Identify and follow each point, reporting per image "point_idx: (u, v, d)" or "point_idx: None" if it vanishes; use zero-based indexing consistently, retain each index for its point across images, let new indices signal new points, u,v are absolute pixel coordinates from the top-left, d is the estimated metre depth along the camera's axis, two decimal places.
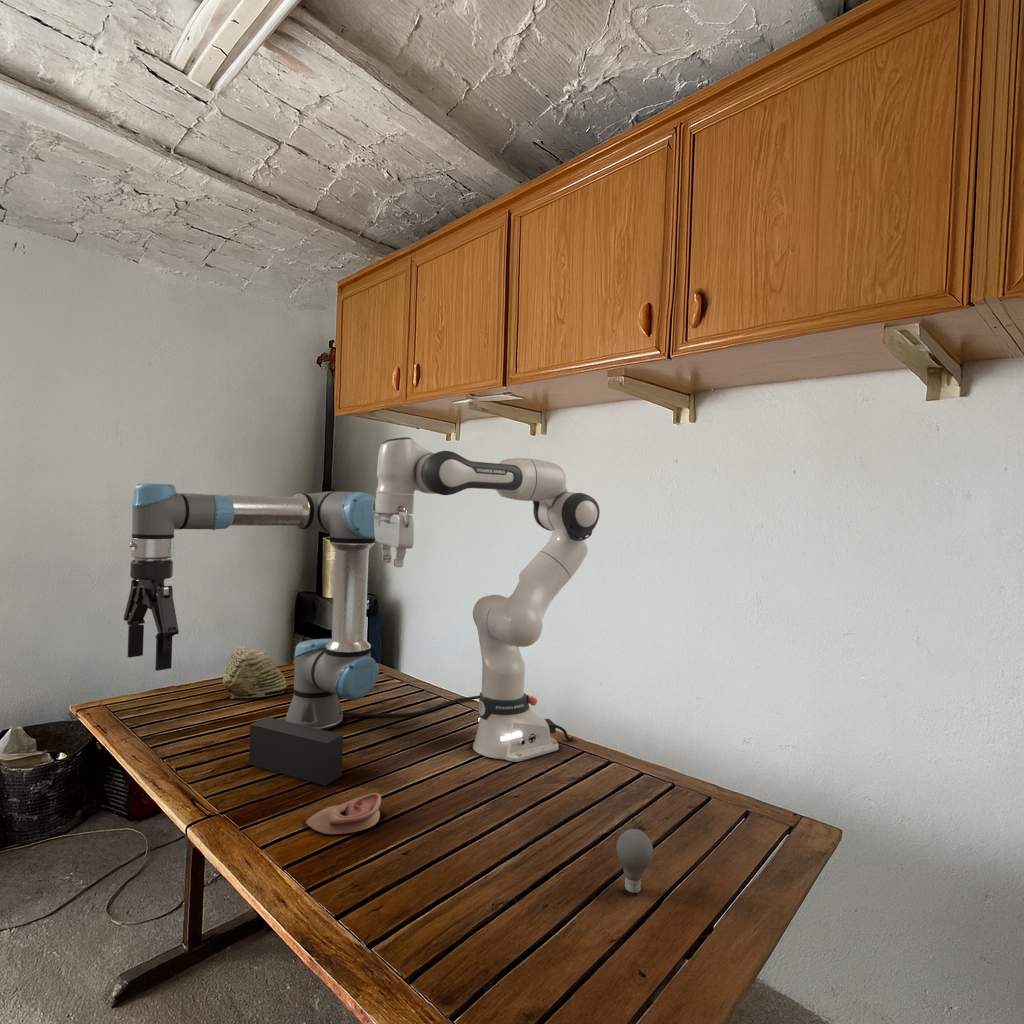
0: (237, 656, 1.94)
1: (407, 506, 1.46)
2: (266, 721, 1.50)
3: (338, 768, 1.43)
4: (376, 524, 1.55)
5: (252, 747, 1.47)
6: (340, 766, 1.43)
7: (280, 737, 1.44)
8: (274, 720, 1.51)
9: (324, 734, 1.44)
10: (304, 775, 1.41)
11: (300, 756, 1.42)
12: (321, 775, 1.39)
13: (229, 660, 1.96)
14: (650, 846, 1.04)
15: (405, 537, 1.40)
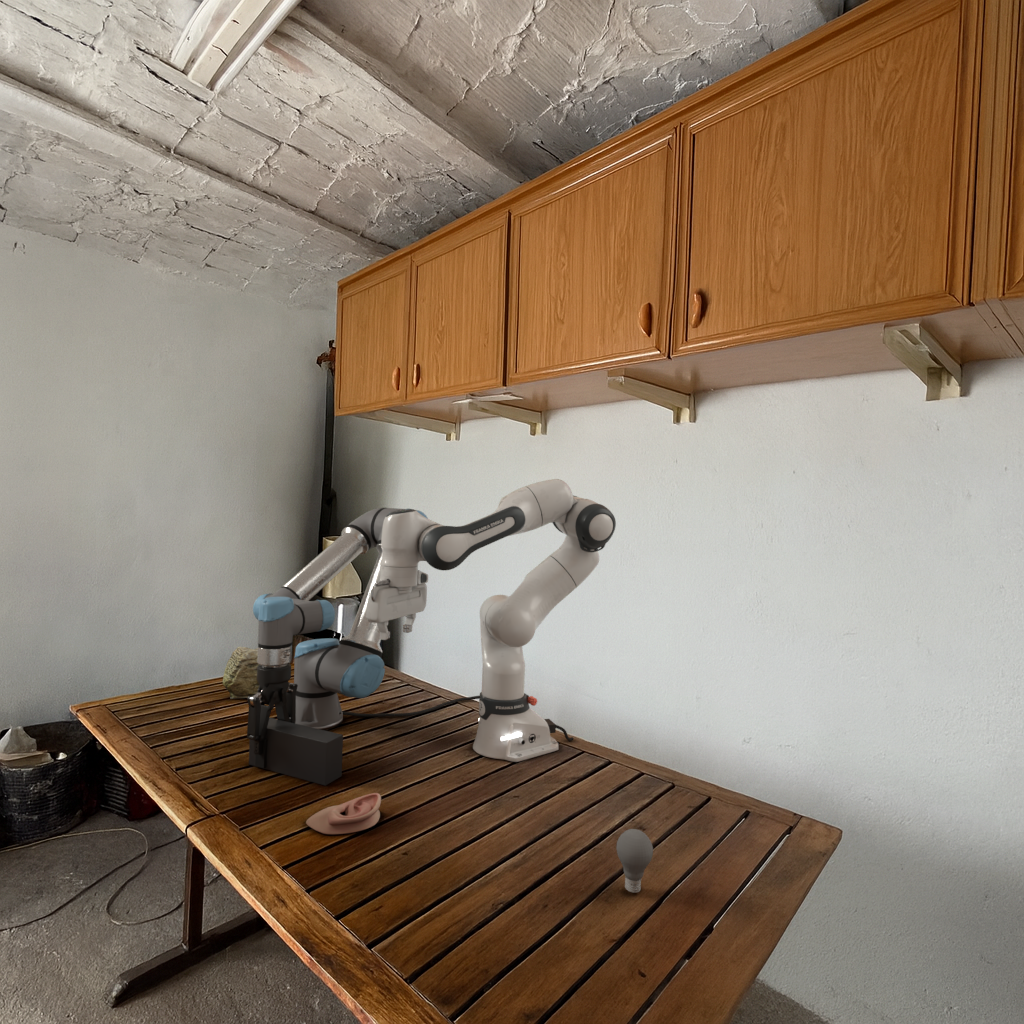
0: (237, 656, 1.94)
1: (395, 579, 1.45)
2: None
3: (338, 768, 1.43)
4: None
5: (252, 747, 1.47)
6: (340, 766, 1.43)
7: (280, 738, 1.44)
8: (274, 720, 1.51)
9: (324, 734, 1.44)
10: (304, 775, 1.41)
11: (300, 757, 1.42)
12: (321, 775, 1.39)
13: (229, 660, 1.96)
14: (650, 846, 1.04)
15: (371, 611, 1.41)
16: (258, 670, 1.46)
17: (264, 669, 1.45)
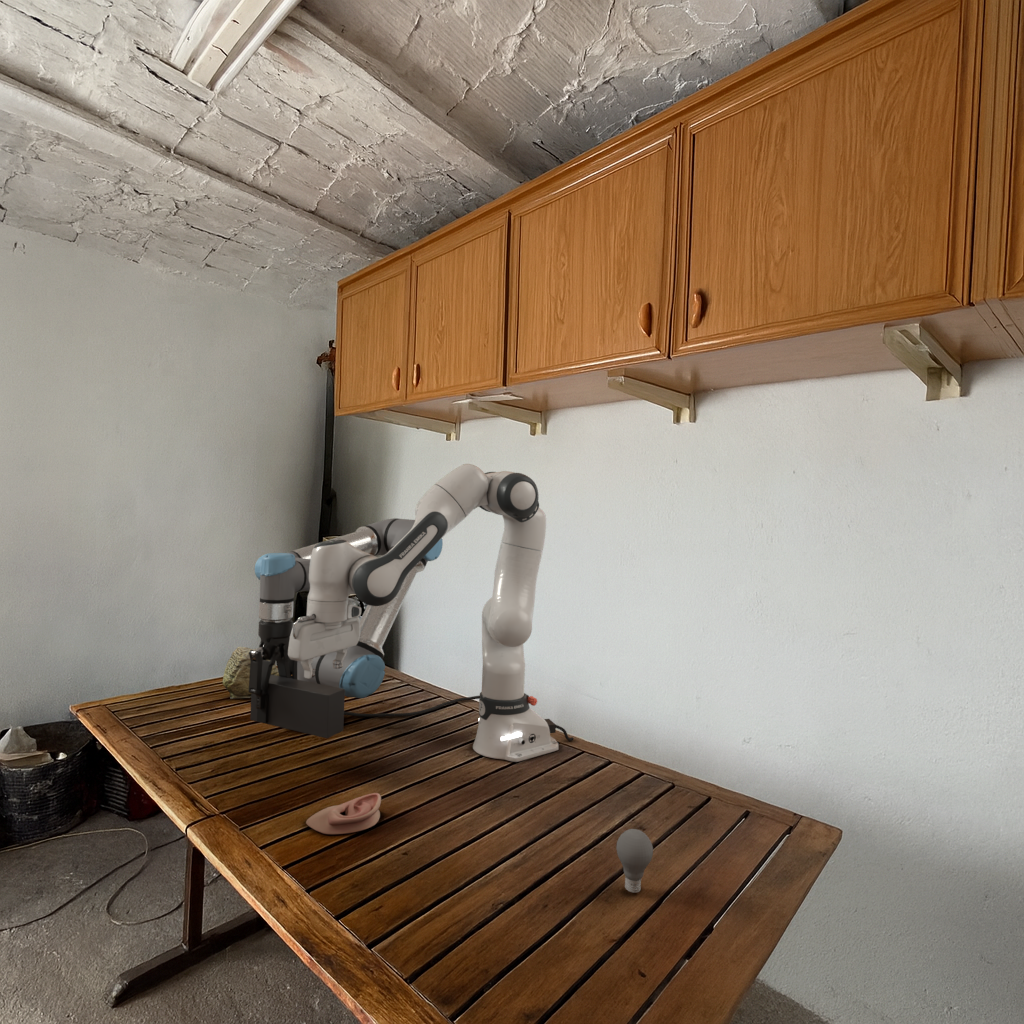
0: (237, 656, 1.94)
1: (321, 614, 1.38)
2: None
3: (340, 722, 1.43)
4: None
5: (254, 702, 1.47)
6: (342, 720, 1.43)
7: (282, 692, 1.44)
8: (276, 676, 1.50)
9: (325, 688, 1.43)
10: (305, 729, 1.41)
11: (302, 710, 1.41)
12: (323, 728, 1.39)
13: (229, 660, 1.96)
14: (650, 846, 1.04)
15: (293, 649, 1.33)
16: (260, 625, 1.46)
17: (266, 624, 1.45)
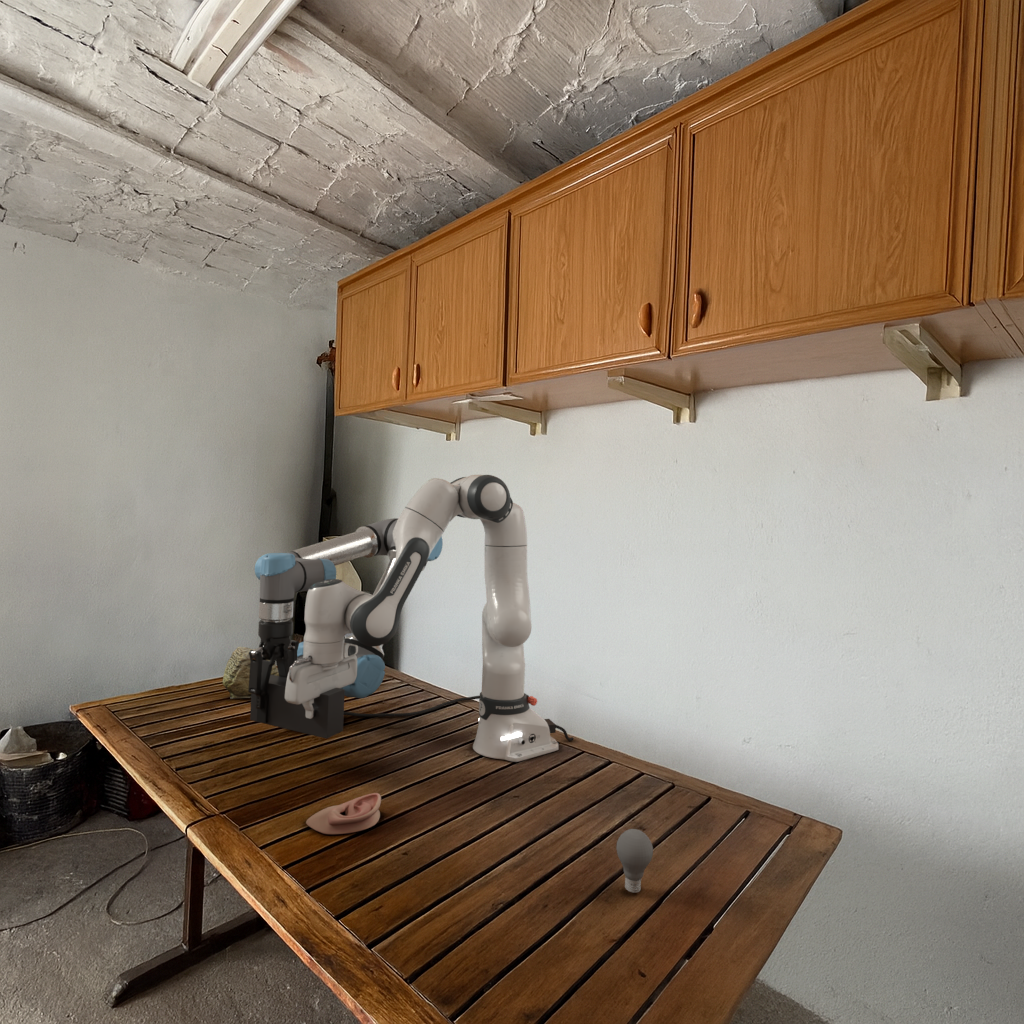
0: (237, 656, 1.94)
1: (318, 656, 1.38)
2: None
3: (340, 722, 1.43)
4: None
5: (254, 703, 1.47)
6: (341, 720, 1.43)
7: (282, 692, 1.44)
8: (276, 676, 1.50)
9: None
10: (305, 729, 1.41)
11: (302, 710, 1.41)
12: (322, 728, 1.39)
13: (229, 660, 1.96)
14: (650, 846, 1.04)
15: (289, 692, 1.34)
16: (260, 625, 1.46)
17: (266, 624, 1.45)
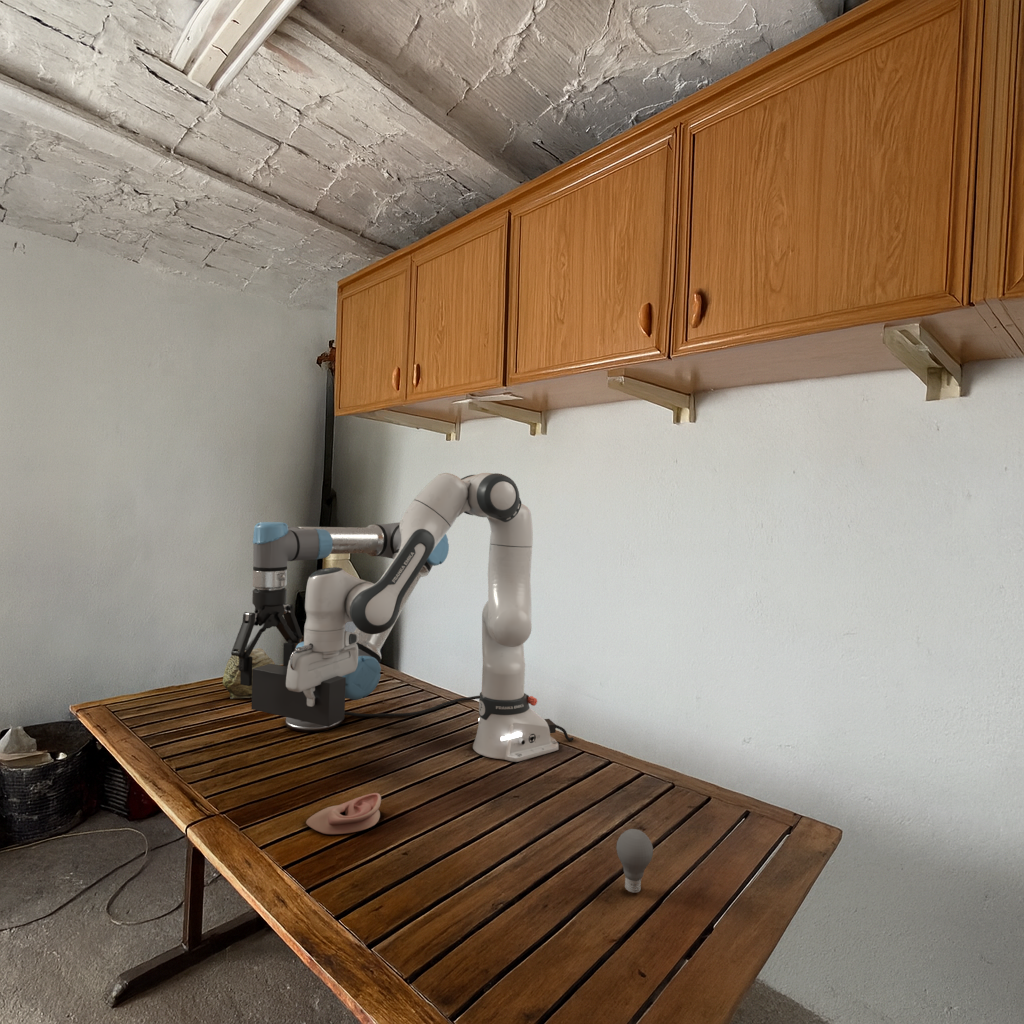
0: (237, 656, 1.94)
1: (318, 644, 1.38)
2: (269, 666, 1.50)
3: (341, 711, 1.43)
4: None
5: (255, 692, 1.47)
6: (343, 708, 1.43)
7: (283, 681, 1.44)
8: (276, 666, 1.50)
9: None
10: (306, 717, 1.41)
11: (303, 699, 1.41)
12: (323, 716, 1.39)
13: (229, 660, 1.96)
14: (650, 846, 1.04)
15: (291, 680, 1.34)
16: (254, 593, 1.46)
17: (260, 591, 1.46)
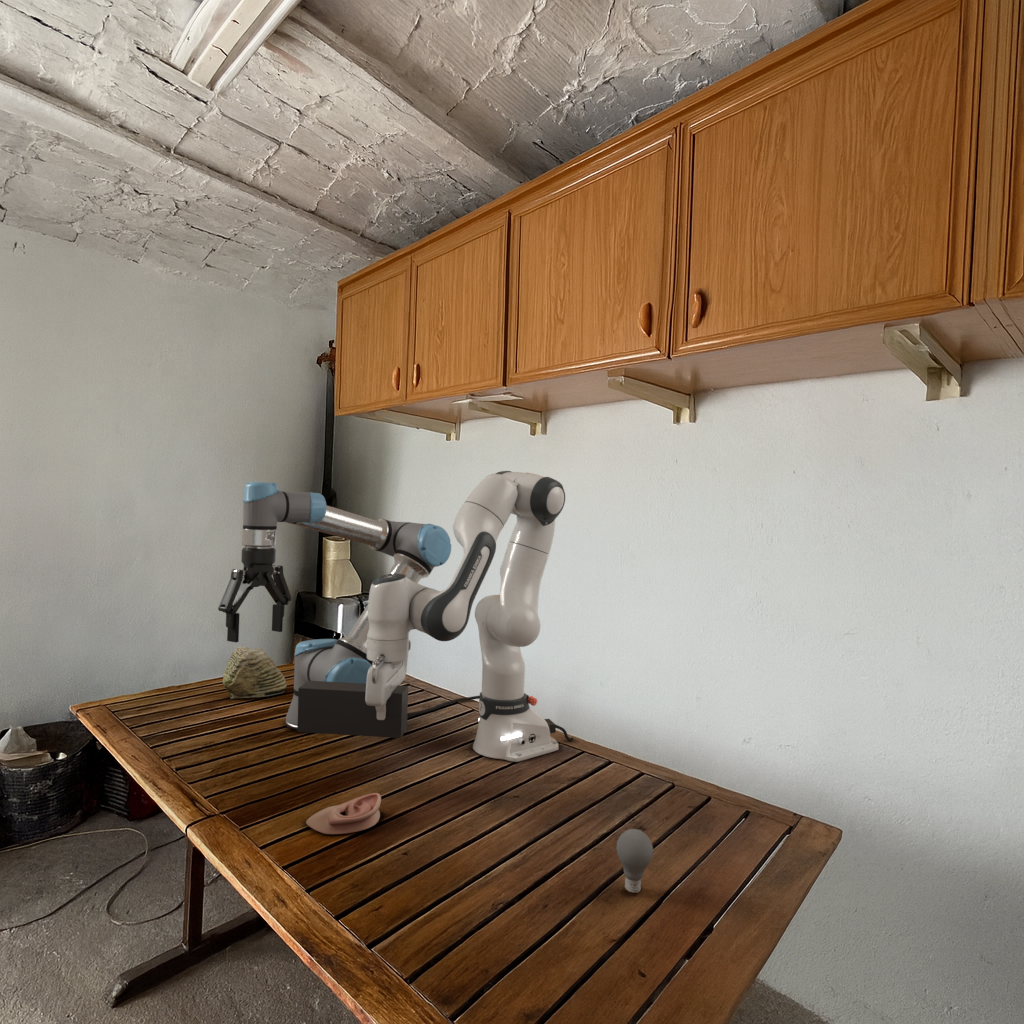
0: (237, 656, 1.94)
1: (391, 654, 1.32)
2: (312, 684, 1.38)
3: (406, 721, 1.38)
4: None
5: (302, 712, 1.35)
6: (406, 718, 1.39)
7: (341, 697, 1.35)
8: (320, 682, 1.40)
9: None
10: (373, 732, 1.34)
11: (368, 713, 1.34)
12: (395, 728, 1.34)
13: (229, 660, 1.96)
14: (650, 846, 1.04)
15: (372, 694, 1.27)
16: (243, 551, 1.48)
17: (248, 549, 1.47)
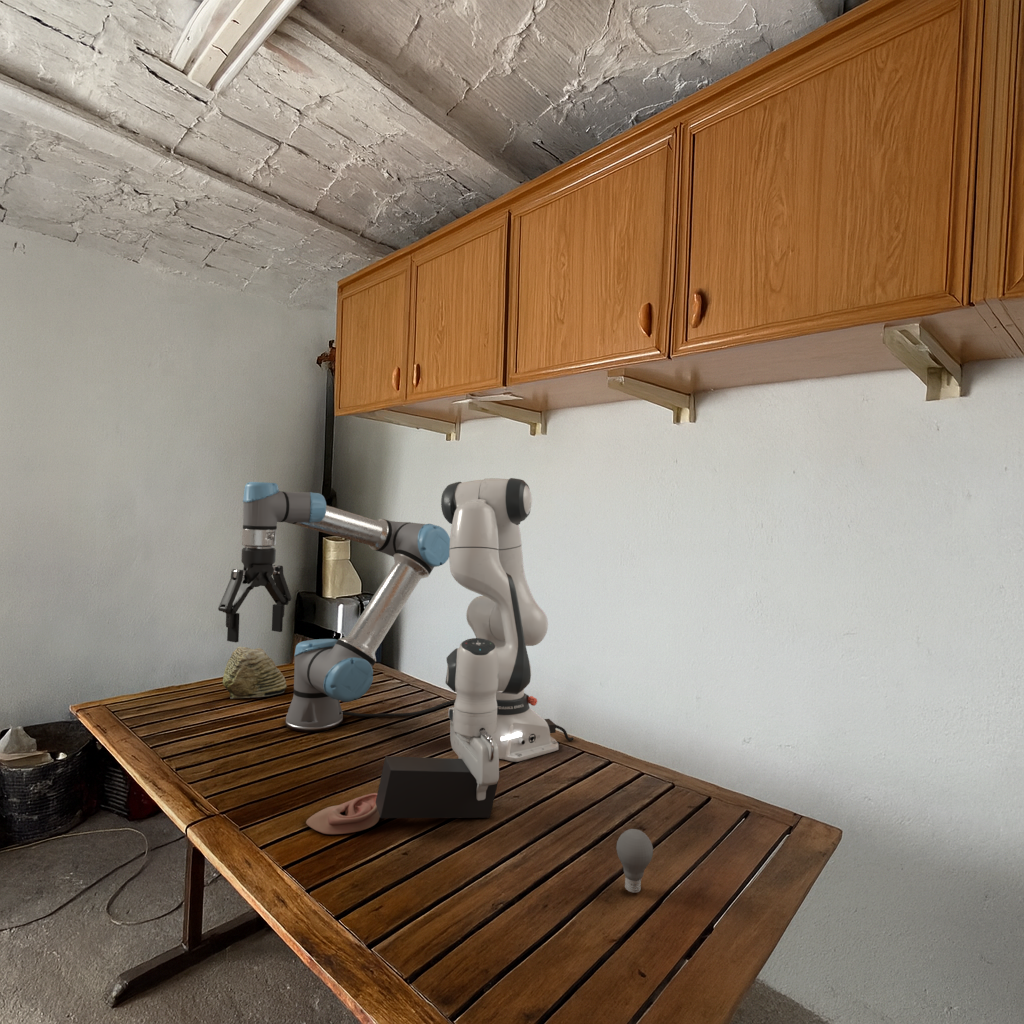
0: (237, 656, 1.94)
1: (490, 726, 1.26)
2: (397, 762, 1.23)
3: None
4: (453, 731, 1.35)
5: (390, 797, 1.20)
6: None
7: (436, 778, 1.23)
8: (401, 758, 1.24)
9: None
10: (463, 813, 1.26)
11: (462, 794, 1.25)
12: (486, 808, 1.27)
13: (229, 660, 1.96)
14: (650, 846, 1.04)
15: (490, 773, 1.20)
16: (243, 551, 1.48)
17: (248, 549, 1.47)
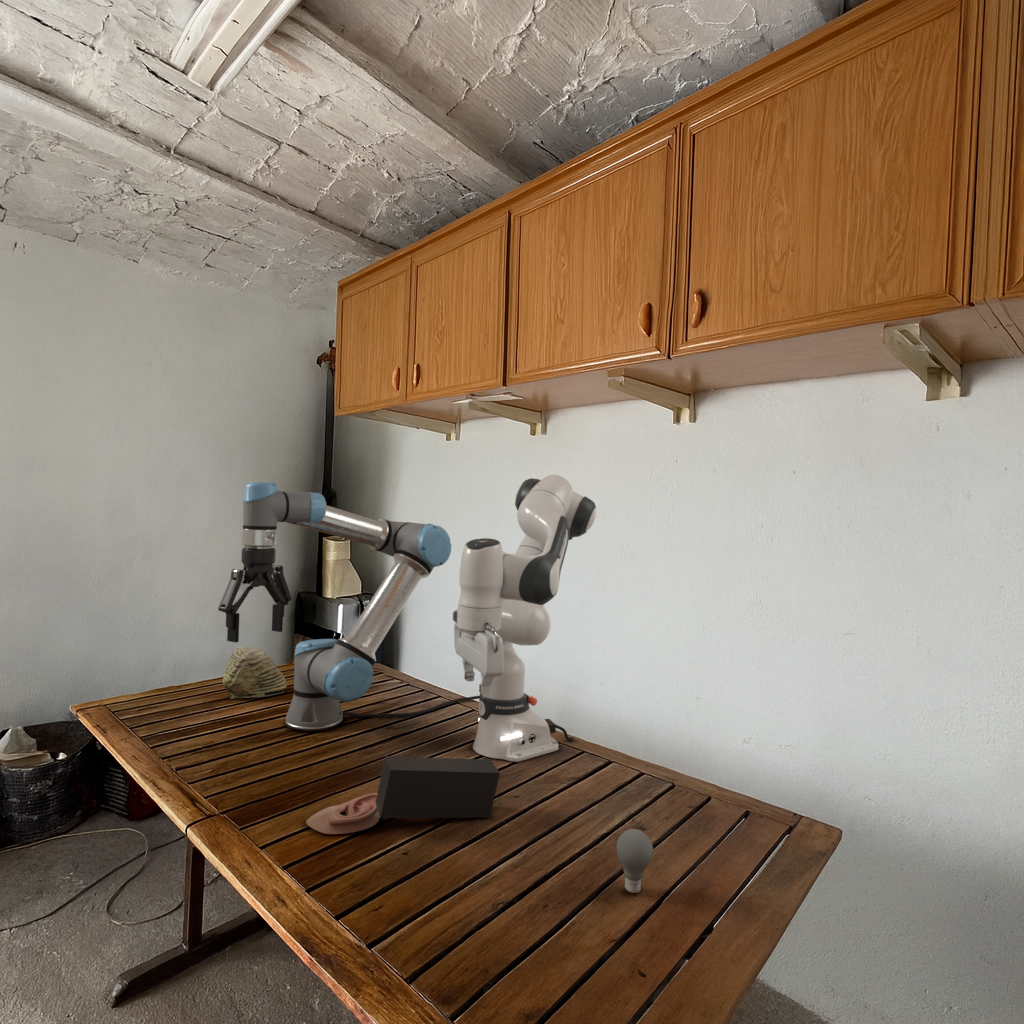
0: (237, 656, 1.94)
1: (494, 622, 1.25)
2: (397, 761, 1.23)
3: None
4: (457, 635, 1.35)
5: (390, 797, 1.20)
6: None
7: (436, 778, 1.23)
8: (401, 758, 1.24)
9: (476, 763, 1.29)
10: (463, 813, 1.26)
11: (462, 794, 1.25)
12: (486, 808, 1.27)
13: (229, 660, 1.96)
14: (650, 846, 1.04)
15: (494, 664, 1.19)
16: (243, 551, 1.48)
17: (248, 549, 1.47)
